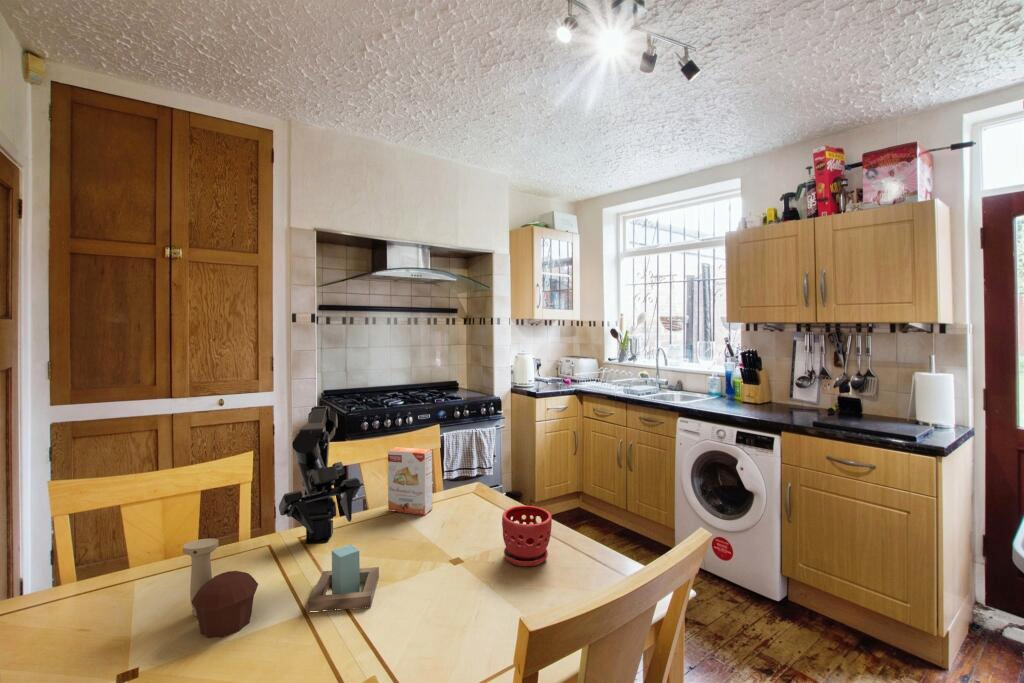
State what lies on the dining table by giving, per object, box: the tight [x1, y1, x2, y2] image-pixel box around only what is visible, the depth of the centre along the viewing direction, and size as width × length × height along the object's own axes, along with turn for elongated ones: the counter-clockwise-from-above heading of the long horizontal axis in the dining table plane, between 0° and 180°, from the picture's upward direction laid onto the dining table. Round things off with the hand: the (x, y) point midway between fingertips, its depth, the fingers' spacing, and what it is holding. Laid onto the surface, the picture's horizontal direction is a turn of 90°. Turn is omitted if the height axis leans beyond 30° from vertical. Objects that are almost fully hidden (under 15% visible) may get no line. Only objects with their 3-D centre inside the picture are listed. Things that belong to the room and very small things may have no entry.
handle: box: [182, 538, 220, 618], centre depth 99 cm, size 5×6×15 cm
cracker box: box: [387, 446, 433, 516], centre depth 158 cm, size 14×6×21 cm, turn 73°
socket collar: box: [307, 566, 380, 613], centre depth 107 cm, size 13×13×2 cm
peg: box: [331, 544, 361, 595], centre depth 107 cm, size 4×4×10 cm
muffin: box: [190, 570, 259, 639], centre depth 96 cm, size 12×11×10 cm
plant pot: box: [501, 505, 553, 567], centre depth 123 cm, size 13×13×12 cm
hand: (331, 526), depth 112 cm, fingers open, 9 cm apart
